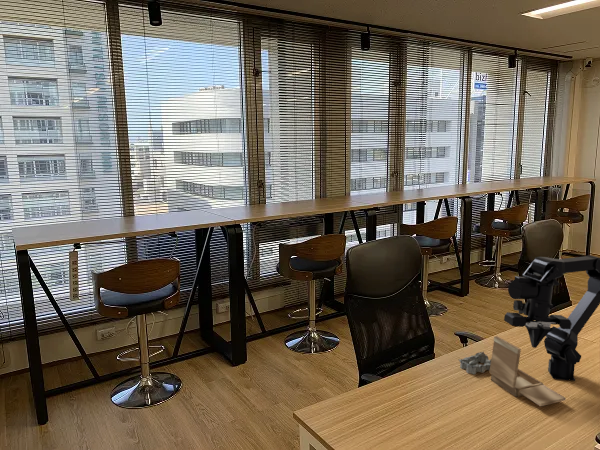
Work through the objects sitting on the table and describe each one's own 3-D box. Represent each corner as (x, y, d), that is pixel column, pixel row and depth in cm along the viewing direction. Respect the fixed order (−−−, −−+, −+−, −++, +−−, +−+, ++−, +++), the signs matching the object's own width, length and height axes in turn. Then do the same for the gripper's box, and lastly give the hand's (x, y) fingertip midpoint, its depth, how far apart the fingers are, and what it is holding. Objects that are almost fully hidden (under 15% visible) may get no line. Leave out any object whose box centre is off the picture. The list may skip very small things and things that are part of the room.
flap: (491, 372, 152) (497, 336, 150) (515, 387, 142) (520, 349, 141) (489, 372, 151) (494, 336, 150) (512, 387, 142) (517, 349, 140)
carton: (516, 374, 156) (516, 367, 155) (566, 405, 138) (566, 397, 137) (490, 380, 153) (491, 372, 152) (538, 412, 135) (539, 403, 134)
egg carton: (483, 361, 166) (484, 350, 165) (497, 371, 159) (498, 360, 158) (456, 365, 163) (456, 354, 163) (469, 376, 156) (469, 364, 156)
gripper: (554, 293, 156) (547, 339, 158) (498, 290, 154) (492, 336, 156) (576, 303, 145) (568, 352, 147) (516, 299, 143) (510, 349, 145)
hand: (533, 347), depth 149 cm, fingers closed
